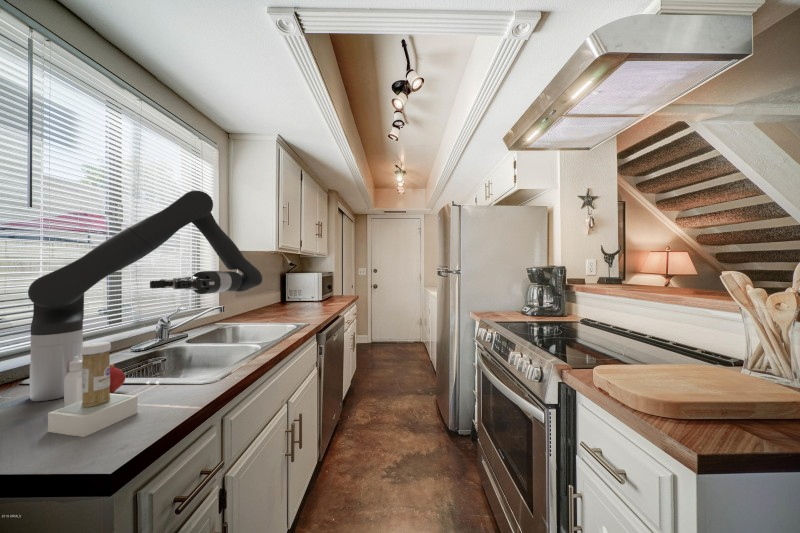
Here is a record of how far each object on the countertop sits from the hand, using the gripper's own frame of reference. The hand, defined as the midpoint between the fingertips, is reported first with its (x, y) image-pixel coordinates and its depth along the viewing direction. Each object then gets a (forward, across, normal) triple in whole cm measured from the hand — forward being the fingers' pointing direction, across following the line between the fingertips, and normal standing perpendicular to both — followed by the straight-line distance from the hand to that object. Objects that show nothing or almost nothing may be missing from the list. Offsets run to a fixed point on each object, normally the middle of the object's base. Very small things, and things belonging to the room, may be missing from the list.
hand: (163, 284), depth 79 cm
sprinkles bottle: (+15, 0, +26) cm, 30 cm away
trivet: (+15, 0, +30) cm, 34 cm away
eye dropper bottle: (+9, -16, +30) cm, 35 cm away
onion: (+3, -14, +30) cm, 33 cm away
